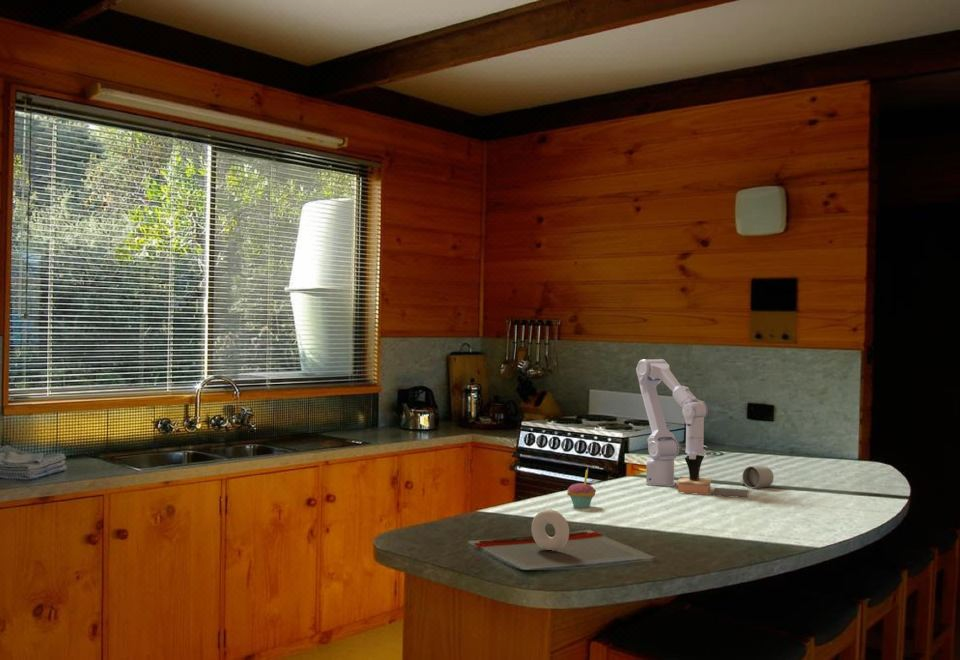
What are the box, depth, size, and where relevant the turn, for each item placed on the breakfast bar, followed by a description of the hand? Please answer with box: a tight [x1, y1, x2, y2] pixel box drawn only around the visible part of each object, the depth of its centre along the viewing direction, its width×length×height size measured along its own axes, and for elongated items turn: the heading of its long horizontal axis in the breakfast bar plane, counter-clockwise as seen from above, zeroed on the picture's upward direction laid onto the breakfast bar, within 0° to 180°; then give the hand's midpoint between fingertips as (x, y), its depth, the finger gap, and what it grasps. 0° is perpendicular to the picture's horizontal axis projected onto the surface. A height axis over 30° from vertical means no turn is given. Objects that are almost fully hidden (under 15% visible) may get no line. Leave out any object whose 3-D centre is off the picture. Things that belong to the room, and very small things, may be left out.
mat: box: [711, 487, 749, 498], centre depth 291 cm, size 11×13×1 cm
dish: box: [677, 483, 711, 495], centre depth 294 cm, size 10×10×3 cm
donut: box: [530, 508, 570, 552], centre depth 211 cm, size 10×4×10 cm, turn 56°
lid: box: [676, 471, 712, 485], centre depth 294 cm, size 10×10×5 cm
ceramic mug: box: [740, 465, 775, 490], centre depth 304 cm, size 11×8×8 cm
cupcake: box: [566, 467, 597, 509], centre depth 266 cm, size 9×8×12 cm
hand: (694, 478), depth 294 cm, fingers closed on lid, 3 cm apart
